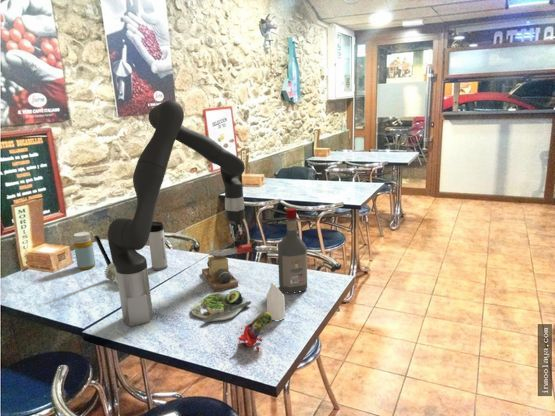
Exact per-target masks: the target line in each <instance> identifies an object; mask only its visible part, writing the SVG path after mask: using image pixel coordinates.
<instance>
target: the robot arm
mask: <svg viewBox="0 0 555 416" xmlns="http://www.w3.org/2000/svg"><path fill="white" fill-rule="evenodd" d="M184 119H185V113H184V109H183V107H182V105H181V104H180V103H179V102H178V101H177V100H172V99H169V100H165V101H162V102H161V103H159V104H158V105H156V106H154V107H152V108H151V109H150V111H149V113H148V120H149V121H148V122H149V124H150V125H151V127H153V128H154V129H155V130H154V132H153V135H152V137H151V138H150V139H149V141H148V143H147V144H146V146H145V147H144V148H143V150H142V152H141V153H140V156H139V157H138V160H137V163H136V165H135V168H134V172H133V176H132V183H133V188H134V189H133V190H134V191H135V195H136V199H137V200H136V201H137V204H136V209H135V213H134V215H133V218H124V217H123V218H121V217H120V218H116V219H114V220H112V221H111V223H110V224H109V226H108V229H107V242H108V246H109V252H110V257H111V262H113V264H114V265H115V267H116V272H117V279H118V286H117V287H118V293H119V299H120V306H121V312H122V313H121V314H122V321H123V323H124V324H125V325H128V326H129V327H134V326H138V325H142V324H146V323H150V322H151V320H152V318H153V317H154V311H153V303H152V297H151V286H150V278H149V271H148V262H147V258H146V257H145V256H144V255H143V254H141V253H139V252H138V251H139V250H142V249H143V248H144V247H145V246H146V245H147V243H148V242H149V235H150V230H151V225H152V222H153V220H154V219H153V218H154V214H155V210H156V205H157V202H158V198H159V195H160V191H161V189H162V184H163V182H164V180H165V179H164V178H165V175H166V172H167V169H168V164H169V162H170V158H171V154H172V151H173V147H174V144H175V142H176V141H177V142H178V143H181V144H183V145H185V146H187V147H188V148H190V149H191V150H193V151H194V152H196V153H198V154H199V155H200V156H202V157H203V158H204V159H206V161H209V163H210V162H211V163H212V164H214V165H216V166H219V168H220V169H219V171H220V175H221V179H222V182H223V183H222V184H223V186H224V208H225V220H226V221H227V222H230V223H228V225H227V226H228V229H229V232H230V233H229V234H230V237H231V238H232V240H233V248H235V246H240V245H241V241H243V237H244V234H245V230H243V225H242V221H243V220H245V219H246V216H245V215H246V213H245V212H246V211H245V200H244V189H243V183H242V182H241V181H240V180H239V176H242V175H243V174H244V172H245V169H246V167H245V163H244V161H243V160H242V159H241V158H240V157H238V156H237V155H235V154H233V153H231V152H230V151H229V150H226V149H225V148H223V146H222V145H220V144H219V143H217V142H216V141H215V140H213V139H212V138H211V137H208V136H207V135H204V134H202V133H201V132H200V133H199V132H197V131H194V130H193V129H191V128H188V127H186V126H184V125H183V123H184Z"/></svg>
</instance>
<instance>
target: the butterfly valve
mask: <svg viewBox="0 0 555 416" xmlns="http://www.w3.org/2000/svg"><path fill="white" fill-rule="evenodd" d="M93 238H94V240H95V242H96V244H97V246H98V248H99V250H100V252H101V254H102V256H103V258H104V262H105V263H106V267H105V269H104V277H105V278H106V279H107V280H114V281H115V283H116V285H117V287H118V279H117V272H116V267H115V265H114V264H113V262H112V260H111V259H110V258H109V256H108V254H107V252H106V249H105V248H104V246H103V244H102V242H101V239H100V236H99V235H97V234H96V235H94V236H93Z"/></svg>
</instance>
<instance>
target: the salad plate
mask: <svg viewBox="0 0 555 416" xmlns="http://www.w3.org/2000/svg"><path fill="white" fill-rule="evenodd" d="M251 304H252V301H248V300H247V298H246V297H243V296H242V293H241V291H239V290H231V291H230V292H229V293H224V292H212V293H209V294H206V295H205V296H204V297H202V298H201V299H200V300H199V301H197V302H196V303H195V304H194V305H193V306H191V308H190V309H191V310H190V312H191V314H192V315H193V316H194V317H197V318H198V319H200V320H202V322H203V323H209V322H217V321H224V320H225V321H226V320H230V319H232V318H234V317H235V316H237V315H238V314H239V313H240V312H241V311H242V310H244V309H245V308H246V307H248V306H249V305H251ZM204 306H205V307H206V311H207V312H208V313H202V311H201V309H202V308H204Z"/></svg>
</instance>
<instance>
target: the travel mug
mask: <svg viewBox="0 0 555 416" xmlns="http://www.w3.org/2000/svg"><path fill="white" fill-rule="evenodd" d="M164 231H165V229H164V223H162V222H160V221H152V225H151V230H150V235H149V238H148V244H149V251H150V253H149V254H150V261H151V269H152V270H154V271H163V270H165V269H167V268H168V259H167V257H168V256H167V249H166V240H165V232H164Z"/></svg>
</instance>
